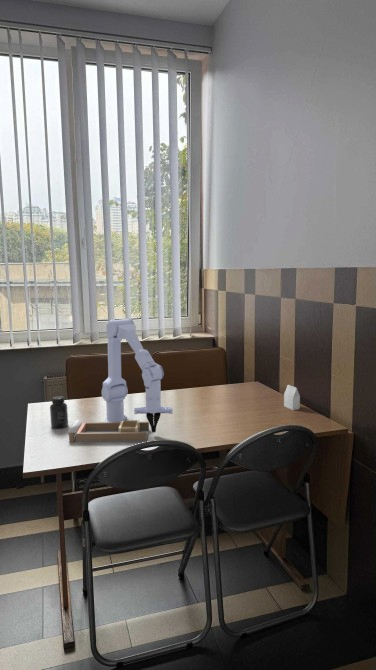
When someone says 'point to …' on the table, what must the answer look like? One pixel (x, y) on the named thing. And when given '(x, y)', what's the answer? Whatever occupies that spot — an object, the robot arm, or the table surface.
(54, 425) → the supplement bottle
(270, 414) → the table surface
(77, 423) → the bay
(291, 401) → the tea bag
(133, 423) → the crate
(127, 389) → the robot arm
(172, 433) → the table surface
